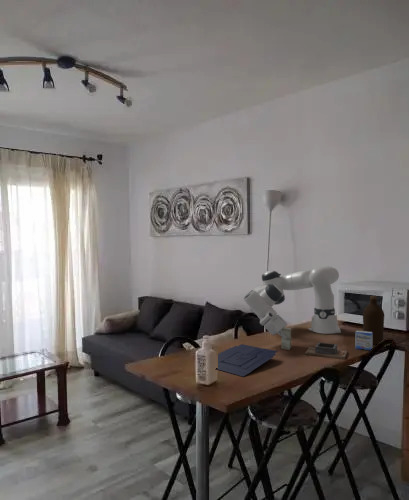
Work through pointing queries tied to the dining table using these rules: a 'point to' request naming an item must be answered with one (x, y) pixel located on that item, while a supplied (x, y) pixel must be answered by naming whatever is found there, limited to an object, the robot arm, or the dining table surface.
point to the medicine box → (363, 340)
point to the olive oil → (374, 320)
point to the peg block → (286, 342)
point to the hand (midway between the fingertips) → (287, 336)
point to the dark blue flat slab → (243, 359)
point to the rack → (326, 351)
